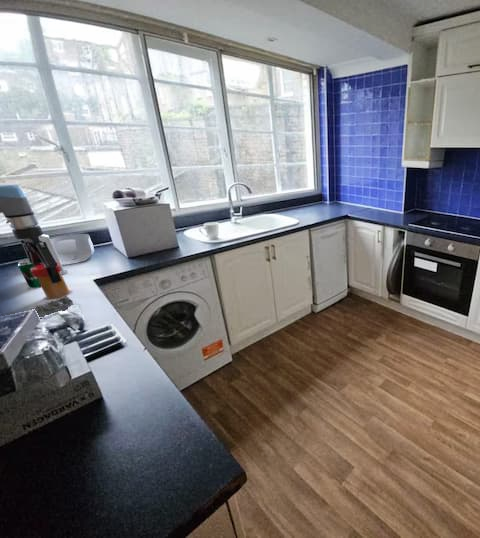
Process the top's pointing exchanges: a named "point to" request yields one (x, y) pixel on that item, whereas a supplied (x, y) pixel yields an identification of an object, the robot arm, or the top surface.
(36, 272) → the lid
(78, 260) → the bowl
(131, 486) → the top surface
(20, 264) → the soda can
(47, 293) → the jar
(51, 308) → the egg carton
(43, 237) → the milk
